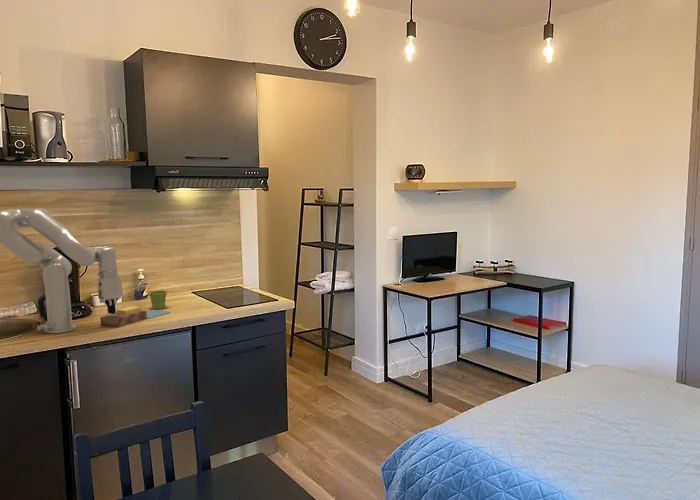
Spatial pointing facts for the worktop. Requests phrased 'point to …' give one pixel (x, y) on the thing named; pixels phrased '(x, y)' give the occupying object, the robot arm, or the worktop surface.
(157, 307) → the plant pot
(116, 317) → the brown flat block
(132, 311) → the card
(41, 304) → the milk frother
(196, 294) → the worktop surface
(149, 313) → the mat
